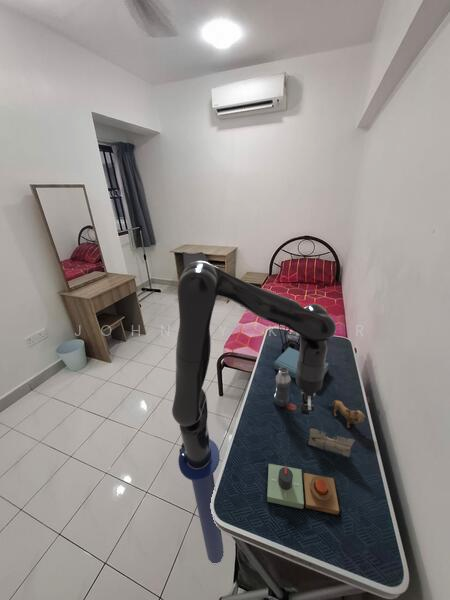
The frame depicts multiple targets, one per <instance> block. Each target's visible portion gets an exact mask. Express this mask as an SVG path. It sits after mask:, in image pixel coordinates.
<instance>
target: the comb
mask: <svg viewBox="0 0 450 600" xmlns="http://www.w3.org/2000/svg"><path fill="white" fill-rule="evenodd" d="M326 434H327V432H325V431H324V432H323V431H320V430H318V429H316V428H312V427H311V428H309V439H308V443H307V445H308V446H312V447H316V448H318V449H321V450H325V451H330V452H333V453H335V454H339V455H342V456H345V457H347V458H351V450H352V447H353V445H354V443H355V441H356V440H355V439H354V438H353V439H352V438H346V437H342V436H340V435H336V439H335V438H330V437H328V435H327V436H326Z"/></svg>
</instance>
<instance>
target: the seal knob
mask: <svg viewBox="0 0 450 600" xmlns="http://www.w3.org/2000/svg"><path fill="white" fill-rule="evenodd" d="M287 467H288V466H285V467H283V468H281V469H280V470H279V478H278V483H279V485H280V487H281V488H282V489H284V490H289V489H290V488H291V487H292V481H293V473H292V471H291V470H290V469H289V468H287Z"/></svg>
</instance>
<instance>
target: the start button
mask: <svg viewBox="0 0 450 600" xmlns="http://www.w3.org/2000/svg"><path fill="white" fill-rule="evenodd" d="M315 489H316V491H317V492H318V493H319V494H321V495H325V494H326V493H327V490H328V486H327V483H326V482H325V481H324V480H322V479H318V480H317V481H316V483H315Z"/></svg>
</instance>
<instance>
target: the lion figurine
mask: <svg viewBox="0 0 450 600" xmlns="http://www.w3.org/2000/svg"><path fill="white" fill-rule="evenodd" d="M327 407H328V408H331V407H333V416H334V417H338V414H337V412H338V411H339V412H340V413H341V415H342V416H343V417H344V418H346V428H347V429H350V428H351V425H353V424H354V425H357V424H363V422H365V418H366V415H365V414H364V413H363V412H362V411H360V410H359V409H357V410H350V409H349V408H348V407H347V406H345V404H344V403H343V401H341V400H334V401H333V402H332V403H331V404H330V405H329V404H328V405H327ZM350 424H351V425H350Z"/></svg>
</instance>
